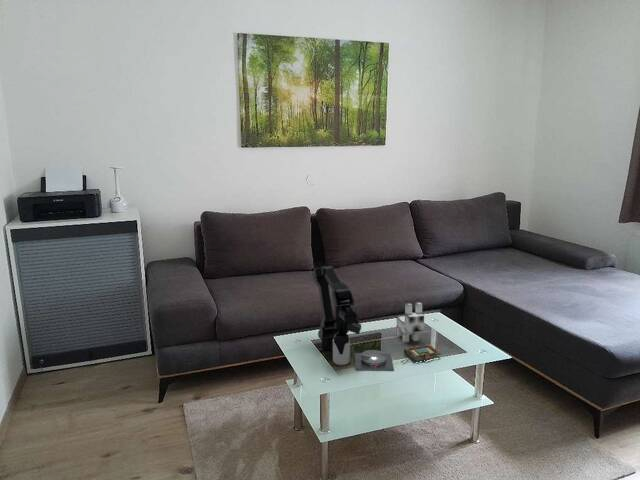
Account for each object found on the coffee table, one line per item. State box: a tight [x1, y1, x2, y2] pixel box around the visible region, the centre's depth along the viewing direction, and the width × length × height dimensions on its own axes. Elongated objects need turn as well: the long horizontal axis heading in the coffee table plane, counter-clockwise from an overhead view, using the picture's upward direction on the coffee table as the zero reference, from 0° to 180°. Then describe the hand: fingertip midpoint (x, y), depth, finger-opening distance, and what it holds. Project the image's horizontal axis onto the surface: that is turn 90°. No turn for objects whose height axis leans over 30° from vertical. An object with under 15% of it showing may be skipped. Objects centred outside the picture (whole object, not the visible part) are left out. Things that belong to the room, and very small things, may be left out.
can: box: [332, 338, 351, 366], centre depth 211 cm, size 8×8×12 cm
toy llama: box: [396, 301, 425, 344], centre depth 234 cm, size 8×18×20 cm, turn 13°
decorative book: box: [401, 344, 441, 364], centre depth 214 cm, size 13×18×5 cm
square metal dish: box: [354, 349, 395, 372], centre depth 211 cm, size 16×15×4 cm
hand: (341, 350), depth 211 cm, fingers closed on can, 7 cm apart
